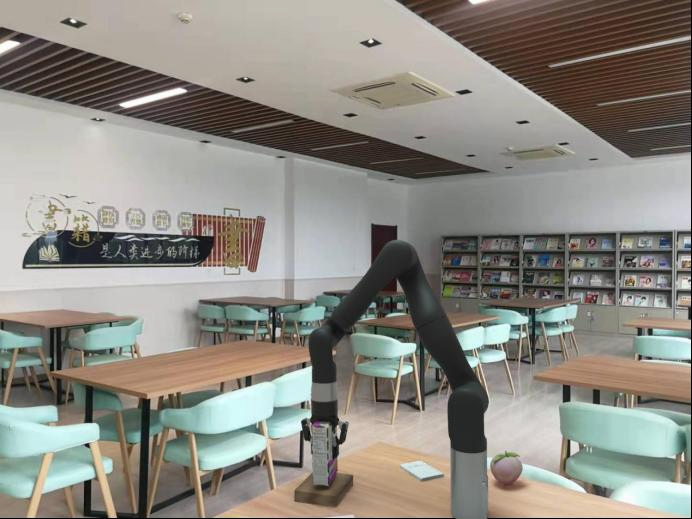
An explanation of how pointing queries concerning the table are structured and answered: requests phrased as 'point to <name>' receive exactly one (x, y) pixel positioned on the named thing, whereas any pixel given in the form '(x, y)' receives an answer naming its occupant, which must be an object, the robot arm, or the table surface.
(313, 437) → the candy bar box
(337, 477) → the block
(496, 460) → the decorative fruit
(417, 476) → the external hard drive
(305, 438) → the robot arm
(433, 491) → the table surface
